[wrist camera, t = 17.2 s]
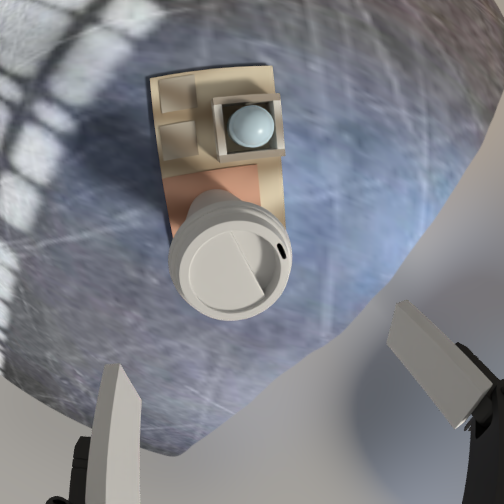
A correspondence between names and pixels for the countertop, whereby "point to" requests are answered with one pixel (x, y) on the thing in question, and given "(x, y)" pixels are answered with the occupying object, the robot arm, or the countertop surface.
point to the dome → (250, 126)
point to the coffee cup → (229, 257)
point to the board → (216, 138)
